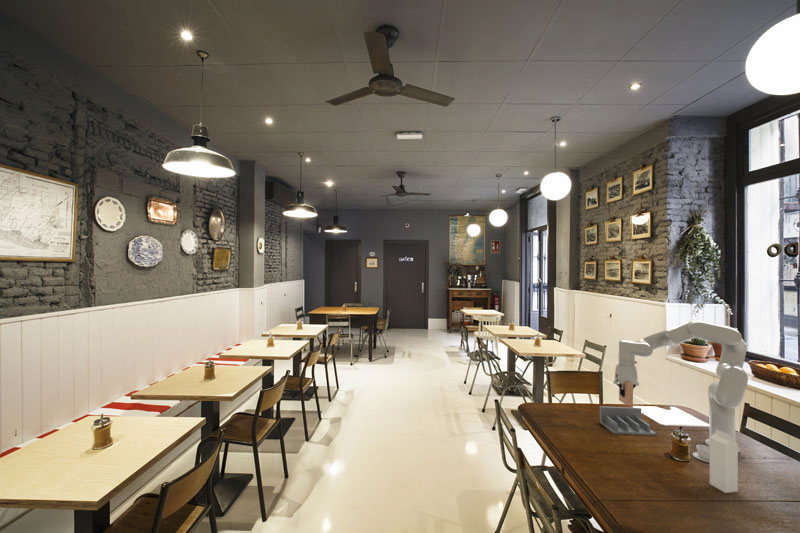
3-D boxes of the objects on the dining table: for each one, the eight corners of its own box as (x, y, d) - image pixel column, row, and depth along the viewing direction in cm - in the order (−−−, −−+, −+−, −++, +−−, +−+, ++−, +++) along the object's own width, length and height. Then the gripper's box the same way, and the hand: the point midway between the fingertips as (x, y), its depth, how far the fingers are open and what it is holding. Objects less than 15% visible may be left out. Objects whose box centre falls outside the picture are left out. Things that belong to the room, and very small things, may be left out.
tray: (631, 407, 227) (631, 405, 227) (675, 408, 226) (675, 406, 226) (661, 426, 199) (661, 423, 199) (712, 428, 198) (712, 425, 198)
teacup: (726, 465, 157) (726, 455, 158) (701, 463, 159) (701, 452, 159) (711, 454, 167) (711, 444, 167) (687, 452, 169) (687, 442, 169)
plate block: (632, 405, 190) (633, 383, 190) (627, 405, 190) (627, 383, 191) (624, 400, 198) (624, 378, 198) (618, 399, 198) (619, 378, 199)
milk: (721, 483, 144) (721, 428, 144) (738, 492, 138) (738, 435, 138) (709, 484, 143) (709, 429, 143) (725, 493, 137) (725, 435, 137)
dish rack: (656, 435, 186) (656, 417, 186) (612, 433, 188) (612, 416, 188) (639, 424, 200) (639, 407, 200) (599, 422, 202) (599, 406, 202)
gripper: (637, 361, 198) (637, 394, 197) (607, 360, 199) (607, 393, 199) (646, 365, 190) (645, 399, 190) (614, 364, 191) (614, 397, 191)
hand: (625, 395), depth 194 cm, fingers closed on plate block, 3 cm apart
